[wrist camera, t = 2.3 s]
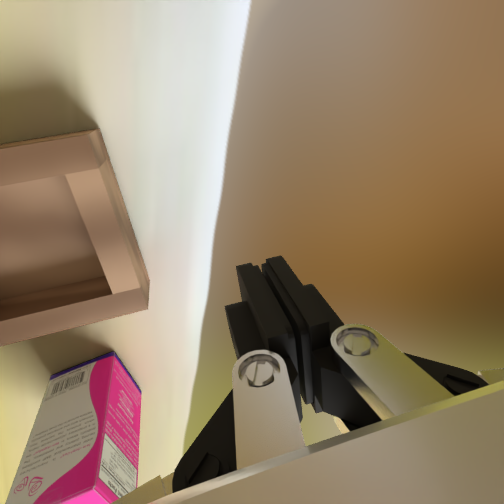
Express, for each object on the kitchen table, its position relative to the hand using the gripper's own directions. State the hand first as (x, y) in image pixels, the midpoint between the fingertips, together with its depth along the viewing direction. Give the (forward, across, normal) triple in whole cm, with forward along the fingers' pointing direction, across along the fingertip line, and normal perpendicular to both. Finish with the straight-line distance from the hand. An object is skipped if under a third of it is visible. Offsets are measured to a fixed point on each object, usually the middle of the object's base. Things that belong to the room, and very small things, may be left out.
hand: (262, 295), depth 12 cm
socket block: (+14, +12, 0) cm, 19 cm away
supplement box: (+14, +13, +15) cm, 25 cm away
